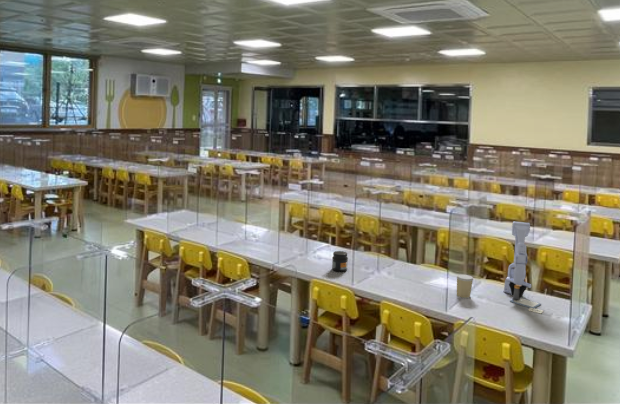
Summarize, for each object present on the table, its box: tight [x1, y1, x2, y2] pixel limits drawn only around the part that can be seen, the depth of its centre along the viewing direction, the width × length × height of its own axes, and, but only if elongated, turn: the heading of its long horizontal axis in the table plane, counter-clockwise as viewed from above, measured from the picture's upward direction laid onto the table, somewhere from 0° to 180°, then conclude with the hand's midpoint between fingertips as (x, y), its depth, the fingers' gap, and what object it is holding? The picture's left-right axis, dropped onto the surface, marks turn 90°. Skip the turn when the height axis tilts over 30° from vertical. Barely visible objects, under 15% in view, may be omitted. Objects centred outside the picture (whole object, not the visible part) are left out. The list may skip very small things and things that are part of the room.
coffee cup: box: [456, 273, 474, 299], centre depth 314 cm, size 9×9×12 cm
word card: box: [527, 308, 544, 314], centre depth 295 cm, size 7×5×1 cm
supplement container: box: [331, 250, 349, 273], centre depth 354 cm, size 10×10×12 cm
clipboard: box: [509, 297, 542, 309], centre depth 306 cm, size 14×10×1 cm
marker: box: [512, 285, 520, 300], centre depth 308 cm, size 4×4×8 cm
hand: (516, 296), depth 308 cm, fingers closed on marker, 4 cm apart
